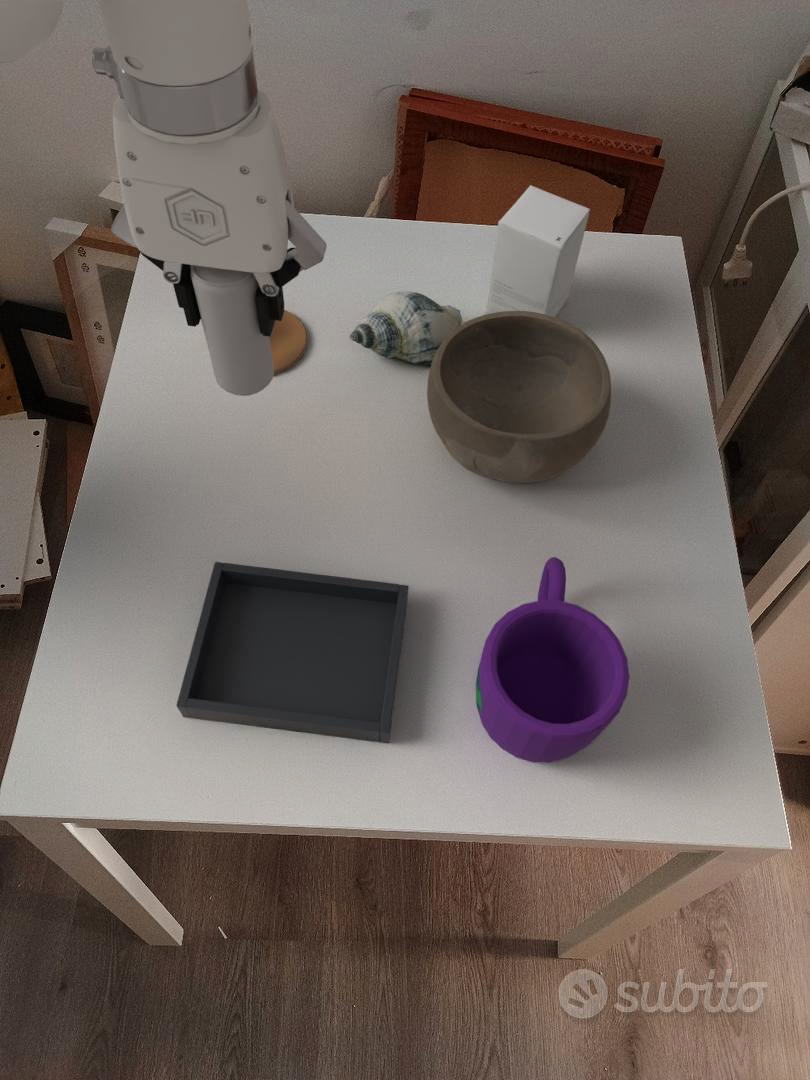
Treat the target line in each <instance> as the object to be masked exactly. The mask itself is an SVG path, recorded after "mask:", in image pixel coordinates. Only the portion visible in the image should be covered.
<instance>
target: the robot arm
mask: <svg viewBox="0 0 810 1080" xmlns="http://www.w3.org/2000/svg"><path fill="white" fill-rule="evenodd" d="M97 1H98V5H99V9H100V13H101V17H102V20H103V24H104V28H105V33H106V36H107V39H108V43H109V45H107V46H106V47H98V46H95V47H94V48H93V50H92V53H91V64H92V68H93V71H94V73H95V74H97V75H100V76H101V75H102V76H107V77H108V78H109V79H113V80H114V82H115V83H116V87H117V90H118V94H119V95H118V96H117V98H116V99H115V101H114V102H113V104H112V130H113V132H112V133H113V141H114V151H115V158H116V159H115V160H116V166H117V167H116V168H117V174H118V181H119V186H120V192H121V197H122V200H123V201H122V202H123V205H122V206H121V208H120V210H119V211H118V213H117V214H116V216H115V218H114V220H113V222H112V225H111V227H110V232H111V233H112V234H113V235H115V236H116V237H118V238H119V239H120V240H122V241H124V242H125V243H127V244H128V245H130V246H131V247H133V248H134V249H136V248H137V249H138V251H139V253H140V255H141V256H142V257H144V258H145V259H147V261H149V262H151V264H153V265H154V266H156V267H157V268H158V269H160V270H161V271H162V276H163V277H162V278H163V279H164V280H165V281H166V282H167V283H170V284H172V286H173V290H174V293H175V294H174V295H175V297H176V301H177V305H178V307H179V308H180V309H183V313H184V317H185V321H186V324H187V327H188V326H189V327H194V328H195V327H197V326H199V324H200V322H201V317H200V312H199V308H198V304H197V300H196V296H195V291H194V287H193V283H192V279H191V265H196V266H203V267H211V268H219V269H227V270H235V271H243V272H252V273H253V274H254V276H255V278H256V280H257V282H258V285H259V286H258V289H257V292H256V295H255V302H256V309H257V315H258V322H259V328H260V333H261V334H263V336H268V337H270V336H271V333H272V330H273V327H274V323H275V320H276V321H281V320H282V317H283V314H284V310H285V297H284V289H283V287H284V286H285V285H287V284H289V283H290V282H291V281H292V280H294V279H296V278H297V277H298V276H299V274H300V273H301V272H302V271H307V270H308V269H311V268H312V267H314V266H316V265H318V264H320V263H322V262H323V261H324V259H325V255H326V251H327V246H328V245H327V242H326V241H325V240H324V239H323V238H322V237H321V235H320V234H319V233H318V232H317V231H316V230H315V228H314V227H312V225H310V223H309V222H308V221H307V220H306V219H305V218H304V217H303V215H301V213H300V212H299V211H298V210H297V209H296V208H295V202H294V194H293V187H292V182H291V181H292V180H291V177H290V171H289V166H288V161H287V156H286V151H285V147H284V143H283V139H282V136H281V132H280V128H279V126H278V122H277V119H276V115H275V113H274V110H273V107H272V105H271V102H270V99H269V97H268V95H267V93H266V92H264V91H262V90H259V89H258V81H257V71H256V63H255V54H254V47H253V39H252V29H251V21H250V14H249V5H248V0H97ZM64 4H65V0H0V64H8V63H14V62H16V61H19V60H21V59H23V58H26V57H29V56H30V55H32V54H33V53H35V52H36V51H38V50H39V49H40V48H41V47H42V46H44V45H45V43H46V42H47V41H48V40H49V39H50V37H51V36H52V35H53V33H54V32H55V30H56V28H57V26H58V24H59V22H60V19H61V16H62V13H63V8H64ZM289 242H290V243H291V244H292V245H293V246H294V247H289V246H288V245H289ZM288 247H289V248H288Z"/></svg>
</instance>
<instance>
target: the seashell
mask: <svg viewBox="0 0 810 1080" xmlns="http://www.w3.org/2000/svg"><path fill="white" fill-rule="evenodd" d="M462 322H463V317H462V314H461V311H460V310H459V309H457V308H456V307H455V306H451V305H440V304H439V303H437V302H436V301H435V300H434V299H432V298H430V297H428V296H427V295H425V294H423V293H420V292H416V291H407V290H406V291H405V290H404V291H403V290H402V291H395V292H392V293H389V294H387V295H385V296H384V297H383V298H382V299H381V300H380V301H379V302H377V303H376V305H375V307H374V309H373V310H372V312H371V313H368V314H367V315H366V316H365V317H364V318H363V319H361V322H360V323H359V324H358V325H357V326H356V327H355V328H354V329H353V331H352V332H351V333H350V334H349V339H350V340H351V341H352V342H356V343H357V344H358V345H359V344H360V345H361V346H362V347H363V348H365V349H371V351H373V353H375V354H376V355H378V356H380V357H383V358H386V359H391V358H397V359H399V360H401V361H403V362H404V361H405V362H407V363H409V364H414V365H431V364H432V361H433V359H434V356H435V354H436V352H437V350H438V348H439V347H440V345H441V344H442V342H443V340H444V339H445V338H446V337H447V336H448V335H449V334H450V333H451V332H452V331H453V330H455V329H456V328H458V327H459V326H460V325H462V324H463V323H462Z"/></svg>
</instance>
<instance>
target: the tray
mask: <svg viewBox="0 0 810 1080" xmlns="http://www.w3.org/2000/svg"><path fill="white" fill-rule="evenodd" d="M408 598H409V585H408V584H400V583H392V582H384V581H376V580H367V579H360V578H351V577H343V576H335V575H329V574H328V575H326V574H320V573H319V574H318V573H311V572H302V571H294V570H285V569H278V568H271V567H270V568H269V567H262V566H256V565H255V566H253V565H245V564H237V563H230V562H220V561H215V562H214V564H213V567H212V571H211V575H210V580H209V583H208V587H207V590H206V594H205V597H204V602H203V605H202V608H201V612H200V616H199V620H198V625H197V627H196V631H195V635H194V638H193V642H192V646H191V650H190V654H189V657H188V660H187V665H186V668H185V671H184V676H183V679H182V683H181V686H180V690H179V694H178V698H177V701H176V707H177V709H178V711H179V713H180V714H181V716H182V718H188V719H195V720H196V719H197V720H203V721H204V720H205V721H211V722H217V723H218V722H219V723H226V724H235V725H242V726H251V727H257V728H264V729H265V728H266V729H272V730H273V729H274V730H281V731H289V732H298V733H304V734H312V735H321V736H328V737H336V738H344V739H351V740H359V741H368V742H373V743H374V742H375V743H382V744H389V742H390V736H391V727H392V721H393V712H394V706H395V705H394V704H395V698H396V690H397V681H398V676H399V667H400V659H401V651H402V645H403V644H402V643H403V637H404V630H405V629H404V628H405V621H406V616H407V615H406V613H407V607H408Z"/></svg>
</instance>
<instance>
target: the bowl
mask: <svg viewBox="0 0 810 1080" xmlns="http://www.w3.org/2000/svg"><path fill="white" fill-rule="evenodd" d="M611 381H612V380H611V373H610V369H609V366H608V363H607V360H606V358H605V355H604V354H603V352H602V350H601V349H600V348H599V346H598V345H597V343H596V342H595V341H594V340H593V339H592V338H591V337H590V336H589V335H588V334H587V333H585V332H584V330H581V328H579V327H577V326H575V325H574V324H572V323H569V322H568V321H565V320H564V319H561V318H558V317H556V316H555V317H552V316H547V315H544V314H540V313H536V312H529V311H503V312H496V313H491V314H487V313H486V314H483V315H480V316H477V317H474V318H471V319H469V320H467V321H466V322H464V323H461V325H460V326H459V327H458V328H456V329H455V330H453V331H452V332H451V333H450V334H449V335H448V336H447V337H446V338H445V339H444V340H443V342H442V344H441V345H440V347H439V348H438V350H437V352H436V354H435V356H434V359H433V361H432V364H430V368H429V372H428V378H427V385H426V387H427V388H426V401H427V406H428V412H429V417H430V420H431V424H432V425H433V427H434V429H435V432H436V434H437V436H438V437H439V439H440V440H441V442H442V444H443V445H444V447H445V449H446V451H448V452H449V455H450V456H451V457H452V458H453V459H454V460H455V461H456V462H457V463H459V465H461V467H463V468H464V469H466V470H468V471H469V472H471V473H473V474H475V475H477V476H479V477H482V478H483V477H484V478H487V479H491V480H498V481H502V482H507V483H520V484H521V483H523V484H524V483H526V484H527V483H538V482H542V481H546V480H549V479H552V478H554V477H557V476H560V475H561V474H563V473H564V472H566V471H568V470H569V469H571V468H572V467H574V466H575V465H577V464H578V463H579V462H581V460H583V459H584V458H585V457H586V456H587V455H589V453H590V452H591V450H592V449H593V447H594V446H595V445H596V444H597V442H598V441H599V439H600V437H601V435H602V434H603V432H604V431H605V428H606V426H607V422H608V419H609V415H610V409H611V403H612V383H611Z"/></svg>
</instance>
